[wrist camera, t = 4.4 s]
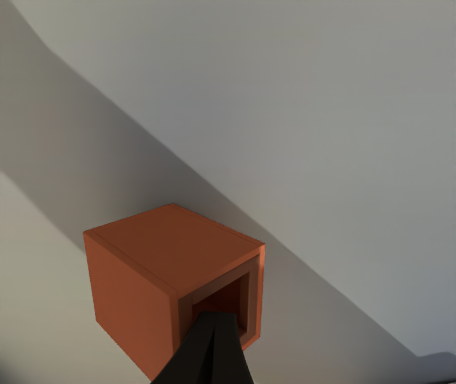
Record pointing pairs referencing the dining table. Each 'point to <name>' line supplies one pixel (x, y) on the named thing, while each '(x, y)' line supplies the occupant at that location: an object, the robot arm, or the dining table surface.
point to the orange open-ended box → (171, 280)
